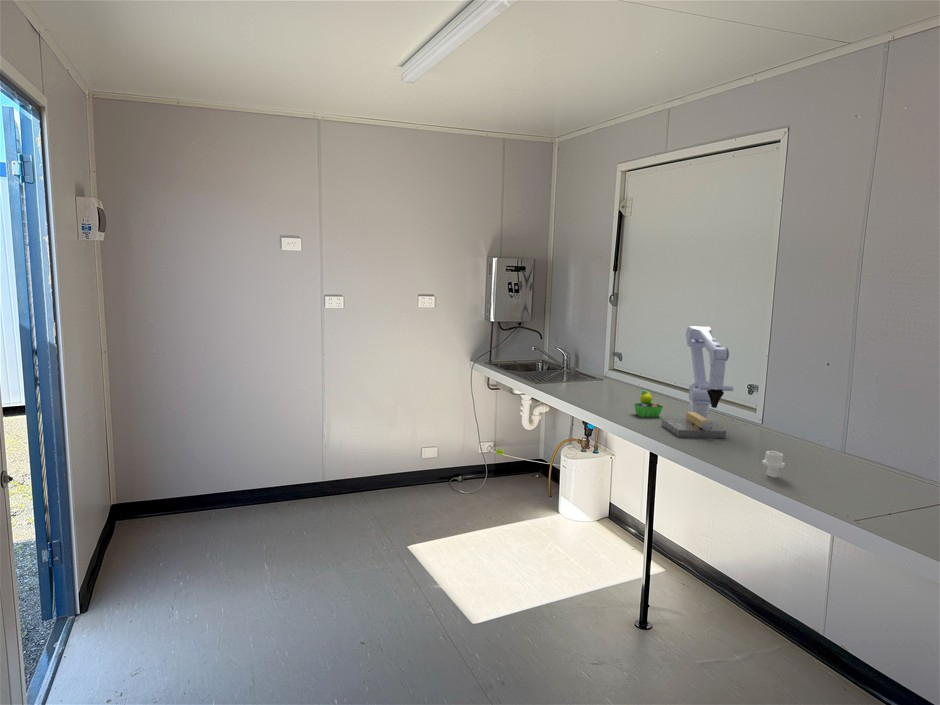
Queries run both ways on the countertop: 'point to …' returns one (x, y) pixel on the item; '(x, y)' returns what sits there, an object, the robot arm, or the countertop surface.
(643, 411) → the fruit basket
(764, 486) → the countertop surface
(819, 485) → the countertop surface
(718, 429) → the plate
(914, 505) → the countertop surface
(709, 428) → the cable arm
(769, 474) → the pipe fitting
